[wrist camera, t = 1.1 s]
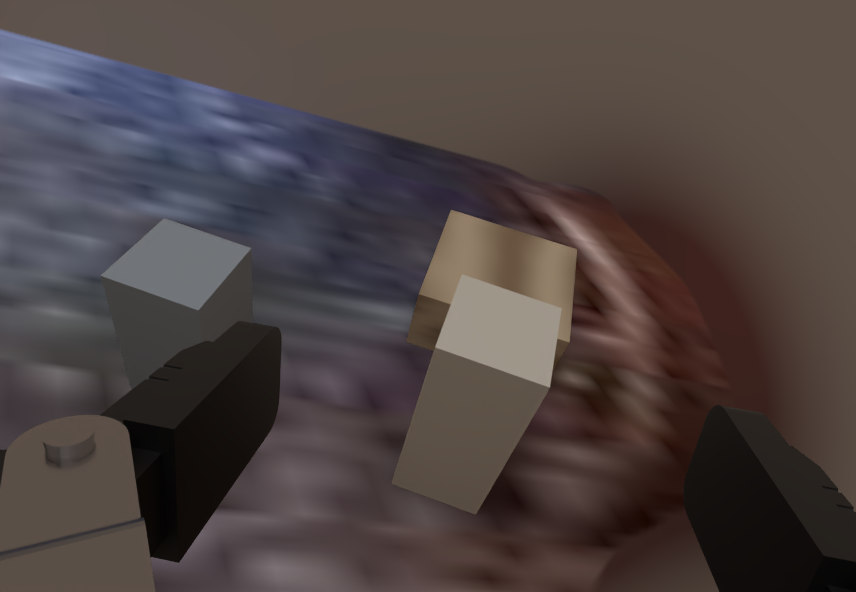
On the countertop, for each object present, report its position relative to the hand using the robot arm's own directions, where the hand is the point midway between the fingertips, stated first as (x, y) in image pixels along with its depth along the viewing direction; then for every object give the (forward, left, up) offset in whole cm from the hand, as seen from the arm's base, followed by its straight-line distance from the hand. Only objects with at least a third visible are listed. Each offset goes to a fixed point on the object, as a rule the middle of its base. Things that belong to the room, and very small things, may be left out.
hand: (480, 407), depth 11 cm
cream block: (-8, +9, -21) cm, 24 cm away
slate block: (-19, -2, -21) cm, 28 cm away
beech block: (-17, +18, -21) cm, 33 cm away
